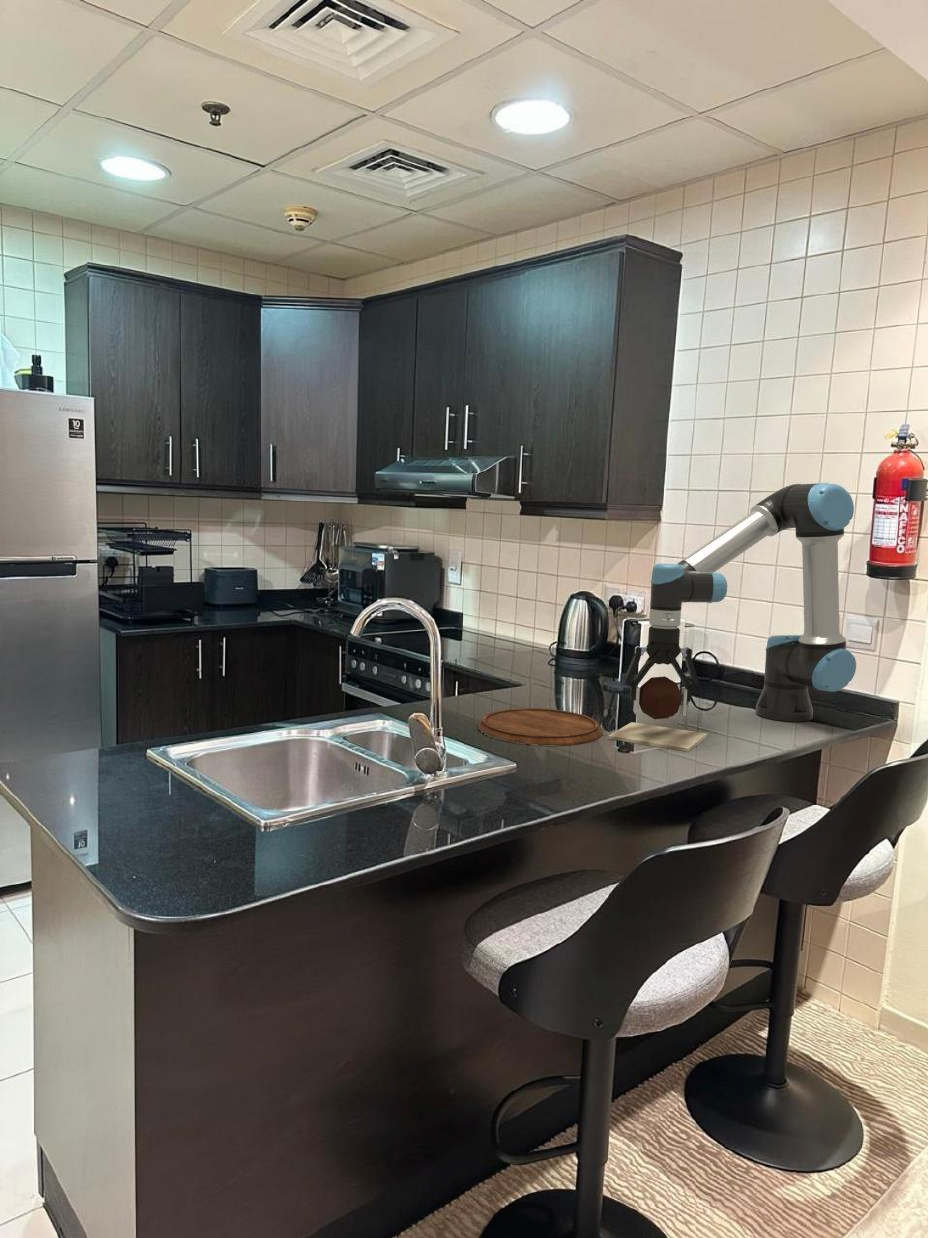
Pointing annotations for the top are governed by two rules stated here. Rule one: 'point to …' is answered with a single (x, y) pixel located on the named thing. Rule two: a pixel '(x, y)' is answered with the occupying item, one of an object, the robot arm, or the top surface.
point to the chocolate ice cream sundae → (660, 698)
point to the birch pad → (658, 736)
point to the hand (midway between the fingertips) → (659, 713)
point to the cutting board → (541, 726)
